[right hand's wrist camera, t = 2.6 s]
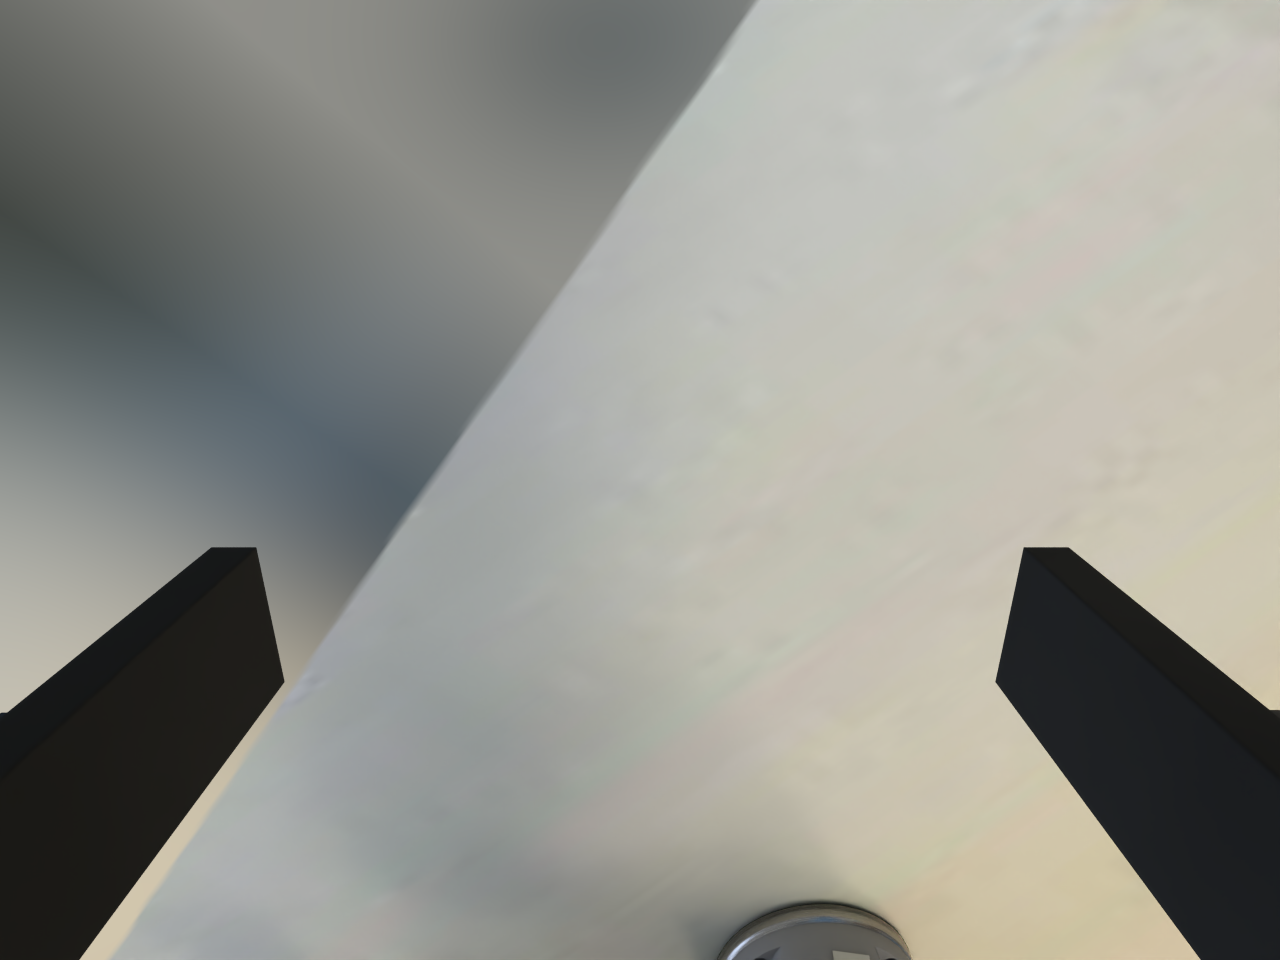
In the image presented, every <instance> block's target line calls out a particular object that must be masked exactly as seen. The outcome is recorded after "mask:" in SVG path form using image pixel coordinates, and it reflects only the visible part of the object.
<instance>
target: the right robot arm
mask: <svg viewBox="0 0 1280 960" xmlns="http://www.w3.org/2000/svg"><path fill="white" fill-rule="evenodd" d="M283 683H284V677H283V672H282V668H281V663H280V658H279V653H278V649H277V644H276V639H275V634H274V630H273V625H272V620H271V615H270V611H269V606H268V601H267V596H266V592H265V587H264V582H263V577H262V573H261V568H260V563H259V558H258V554H257V549H256V547H212V548H210V549H209V550H208V551H206V552H205V553H204V554H203V555H202V556H200V557H199V558H198V559H197V560H195V561H194V562H193V563H192V564H190V565H189V566H188V567H187V568H185V569H184V570H183V571H182V572H181V573H179V574H178V575H177V576H176V577H174V578H173V579H172V580H171V581H169V582H168V583H167V584H166V585H164V586H163V587H162V588H161V589H159V590H158V591H157V592H156V593H155V594H153V595H152V596H151V597H150V598H148V599H147V600H146V601H145V602H143V603H142V604H141V605H140V606H139V607H137V608H136V609H135V610H134V611H132V612H131V613H130V614H129V615H127V616H126V617H125V618H124V619H122V620H121V621H120V622H119V623H117V624H116V625H115V626H114V627H113V628H111V629H110V630H109V631H108V632H106V633H105V634H104V635H103V636H101V637H100V638H99V639H98V640H97V641H95V642H94V643H93V644H91V645H90V646H89V647H88V648H87V649H85V650H84V651H83V652H82V653H80V654H79V655H78V656H77V657H75V658H74V659H73V660H72V661H71V662H69V663H68V664H67V665H66V666H64V667H63V668H62V669H61V670H59V671H58V672H57V673H56V674H54V675H53V676H52V677H51V678H49V679H48V680H47V681H46V682H45V683H43V684H42V685H41V686H40V687H38V688H37V689H36V690H35V691H33V692H32V693H31V694H30V695H28V696H27V697H26V698H25V699H24V700H22V701H21V702H20V703H19V704H17V705H16V706H15V707H14V708H12V709H11V710H10V711H9V712H7V713H0V960H79V959H80V958H81V957H82V955H83V954H84V953H85V951H86V950H87V948H88V947H89V946H90V944H91V943H92V942H93V940H94V939H95V938H96V936H97V935H98V934H99V932H100V931H101V930H102V928H103V927H104V925H105V924H106V923H107V921H108V920H109V919H110V917H111V916H112V915H113V913H114V912H115V911H116V909H117V908H118V906H119V905H120V904H121V903H122V901H123V900H124V898H125V897H126V896H127V894H128V893H129V892H130V890H131V889H132V888H133V886H134V885H135V884H136V882H137V881H138V879H139V878H140V877H141V875H142V874H143V873H144V871H145V870H146V869H147V867H148V866H149V865H150V863H151V862H152V861H153V859H154V858H155V857H156V855H157V854H158V852H159V851H160V850H161V848H162V847H163V846H164V844H165V843H166V842H167V840H168V839H169V838H170V836H171V835H172V833H173V832H174V831H175V829H176V828H177V827H178V825H179V824H180V823H181V821H182V820H183V819H184V817H185V816H186V815H187V813H188V812H189V810H190V809H191V808H192V806H193V805H194V804H195V802H196V801H197V800H198V798H199V797H200V796H201V794H202V793H203V792H204V790H205V789H206V787H207V786H208V785H209V783H210V782H211V781H212V779H213V778H214V777H215V775H216V774H217V773H218V771H219V770H220V769H221V767H222V766H223V764H224V763H225V762H226V760H227V759H228V758H229V756H230V755H231V754H232V752H233V751H234V750H235V748H236V747H237V746H238V744H239V743H240V741H241V740H242V739H243V737H244V736H245V735H246V733H247V732H248V731H249V729H250V728H251V727H252V725H253V724H254V722H255V721H256V720H257V718H258V717H259V716H260V714H261V713H262V712H263V710H264V709H265V708H266V706H267V705H268V704H269V702H270V701H271V700H272V698H273V697H274V695H275V694H276V693H277V691H278V690H279V689H280V687H281V686H282V685H283ZM996 683H997V685H998V686H999V687H1000V689H1001V690H1002V691H1003V693H1004V694H1005V695H1006V697H1007V698H1008V700H1009V701H1010V702H1011V704H1012V705H1013V706H1014V708H1015V709H1016V710H1017V712H1018V713H1019V714H1020V716H1021V717H1022V718H1023V720H1024V721H1025V723H1026V724H1027V725H1028V727H1029V728H1030V729H1031V731H1032V732H1033V733H1034V735H1035V736H1036V737H1037V739H1038V740H1039V741H1040V743H1041V744H1042V746H1043V747H1044V748H1045V750H1046V751H1047V752H1048V754H1049V755H1050V756H1051V758H1052V759H1053V760H1054V762H1055V763H1056V764H1057V766H1058V767H1059V769H1060V770H1061V771H1062V773H1063V774H1064V775H1065V777H1066V778H1067V779H1068V781H1069V782H1070V783H1071V785H1072V786H1073V787H1074V789H1075V790H1076V792H1077V793H1078V794H1079V796H1080V797H1081V798H1082V800H1083V801H1084V802H1085V804H1086V805H1087V806H1088V808H1089V809H1090V810H1091V812H1092V813H1093V815H1094V816H1095V817H1096V819H1097V820H1098V821H1099V823H1100V824H1101V825H1102V827H1103V828H1104V829H1105V831H1106V832H1107V834H1108V835H1109V836H1110V838H1111V839H1112V840H1113V842H1114V843H1115V844H1116V846H1117V847H1118V848H1119V850H1120V851H1121V852H1122V854H1123V855H1124V857H1125V858H1126V859H1127V861H1128V862H1129V863H1130V865H1131V866H1132V867H1133V869H1134V870H1135V871H1136V873H1137V874H1138V875H1139V877H1140V878H1141V880H1142V881H1143V882H1144V884H1145V885H1146V886H1147V888H1148V889H1149V890H1150V892H1151V893H1152V894H1153V896H1154V897H1155V898H1156V900H1157V901H1158V903H1159V904H1160V905H1161V907H1162V908H1163V909H1164V911H1165V912H1166V913H1167V915H1168V916H1169V917H1170V919H1171V920H1172V921H1173V923H1174V924H1175V926H1176V927H1177V928H1178V930H1179V931H1180V932H1181V934H1182V935H1183V936H1184V938H1185V939H1186V940H1187V942H1188V943H1189V944H1190V946H1191V947H1192V949H1193V950H1194V951H1195V953H1196V954H1197V955H1198V957H1199V958H1200V959H1201V960H1280V710H1269V709H1268V708H1266V707H1265V706H1264V705H1263V704H1261V703H1260V702H1259V701H1258V700H1256V699H1255V698H1254V697H1253V696H1252V695H1250V694H1249V693H1248V692H1247V691H1245V690H1244V689H1243V688H1242V687H1240V686H1239V685H1238V684H1237V683H1235V682H1234V681H1233V680H1232V679H1231V678H1229V677H1228V676H1227V675H1226V674H1224V673H1223V672H1222V671H1221V670H1219V669H1218V668H1217V667H1216V666H1214V665H1213V664H1212V663H1211V662H1210V661H1208V660H1207V659H1206V658H1205V657H1203V656H1202V655H1201V654H1200V653H1198V652H1197V651H1196V650H1195V649H1193V648H1192V647H1191V646H1190V645H1189V644H1187V643H1186V642H1185V641H1184V640H1182V639H1181V638H1180V637H1179V636H1177V635H1176V634H1175V633H1174V632H1172V631H1171V630H1170V629H1169V628H1167V627H1166V626H1165V625H1164V624H1163V623H1161V622H1160V621H1159V620H1158V619H1156V618H1155V617H1154V616H1153V615H1151V614H1150V613H1149V612H1148V611H1146V610H1145V609H1144V608H1143V607H1142V606H1140V605H1139V604H1138V603H1137V602H1135V601H1134V600H1133V599H1132V598H1130V597H1129V596H1128V595H1127V594H1125V593H1124V592H1123V591H1122V590H1121V589H1119V588H1118V587H1117V586H1116V585H1114V584H1113V583H1112V582H1111V581H1109V580H1108V579H1107V578H1106V577H1104V576H1103V575H1102V574H1101V573H1100V572H1098V571H1097V570H1096V569H1095V568H1093V567H1092V566H1091V565H1090V564H1088V563H1087V562H1086V561H1085V560H1083V559H1082V558H1081V557H1080V556H1078V555H1077V554H1076V553H1075V552H1074V551H1072V550H1071V549H1070V548H1069V547H1024V549H1023V554H1022V558H1021V563H1020V568H1019V573H1018V577H1017V582H1016V587H1015V592H1014V596H1013V601H1012V606H1011V611H1010V615H1009V620H1008V625H1007V630H1006V634H1005V639H1004V644H1003V649H1002V653H1001V658H1000V663H999V668H998V672H997V677H996ZM717 960H912V958H911V955H910V953H909V950H908V947H907V945H906V943H905V942H904V940H903V939H902V937H901V936H900V935H899V934H898V932H897V931H896V930H895V929H894V928H892V927H891V926H890V925H889V924H887V923H886V922H885V921H883V920H881V919H880V918H878V917H876V916H874V915H872V914H870V913H867V912H864V911H862V910H859V909H855V908H851V907H846V906H840V905H831V904H811V905H801V906H796V907H790V908H786V909H782V910H779V911H776V912H773V913H770V914H768V915H765V916H763V917H761V918H759V919H757V920H755V921H753V922H752V923H750V924H748V925H747V926H745V927H744V928H743V929H741V930H740V931H739V932H738V933H736V934H735V935H734V936H733V937H732V938H731V939H730V940H729V942H728V943H727V944H726V945H725V947H724V948H723V950H722V951H721V953H720V955H719V957H718V959H717Z"/></svg>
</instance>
